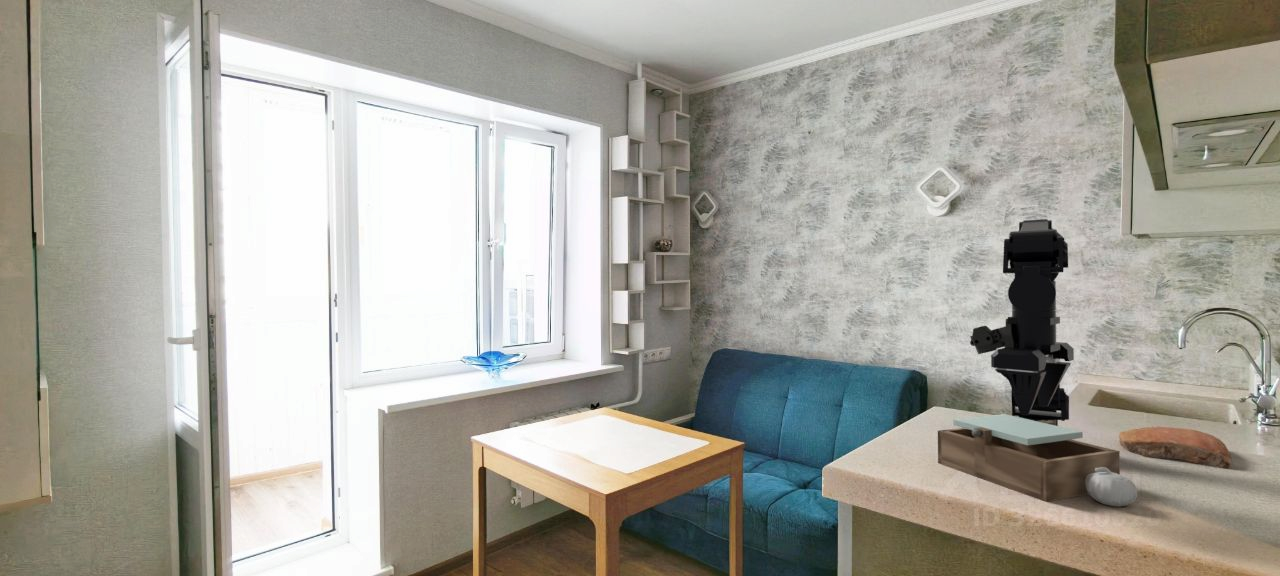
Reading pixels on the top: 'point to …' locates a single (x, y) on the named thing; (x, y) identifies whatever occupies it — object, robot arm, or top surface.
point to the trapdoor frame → (1025, 462)
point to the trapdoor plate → (1019, 429)
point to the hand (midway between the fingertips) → (1034, 410)
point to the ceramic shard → (1176, 445)
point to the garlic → (1110, 488)
